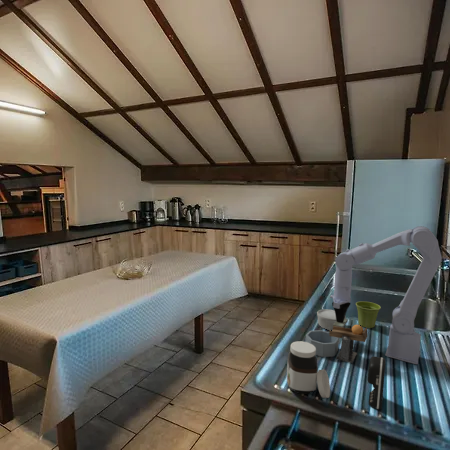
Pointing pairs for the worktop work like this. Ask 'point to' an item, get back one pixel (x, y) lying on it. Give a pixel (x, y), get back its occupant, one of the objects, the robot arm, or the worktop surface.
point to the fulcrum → (346, 350)
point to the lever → (346, 332)
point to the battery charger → (376, 381)
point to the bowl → (323, 343)
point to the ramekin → (326, 318)
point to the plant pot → (367, 313)
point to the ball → (357, 329)
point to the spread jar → (306, 370)
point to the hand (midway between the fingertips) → (339, 321)
